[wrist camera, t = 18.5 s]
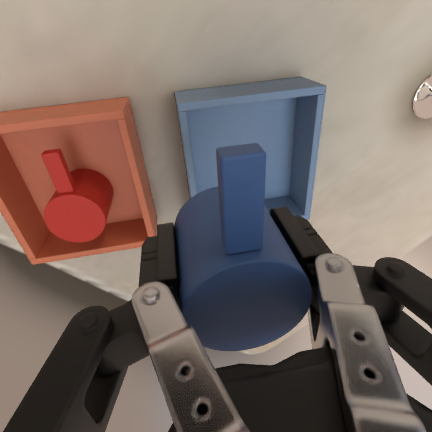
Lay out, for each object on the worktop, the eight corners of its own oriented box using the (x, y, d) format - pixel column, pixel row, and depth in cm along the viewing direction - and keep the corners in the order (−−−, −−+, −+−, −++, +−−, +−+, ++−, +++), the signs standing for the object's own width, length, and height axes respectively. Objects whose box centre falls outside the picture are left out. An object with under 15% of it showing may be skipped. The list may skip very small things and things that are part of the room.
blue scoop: (266, 255, 15) (305, 339, 11) (180, 269, 15) (188, 361, 11) (273, 103, 11) (340, 149, 7) (153, 116, 11) (149, 173, 6)
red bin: (-14, 113, 23) (-49, 130, 19) (128, 96, 24) (122, 110, 20) (48, 234, 30) (32, 264, 26) (157, 217, 31) (156, 244, 27)
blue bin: (174, 91, 24) (176, 103, 20) (301, 76, 25) (326, 85, 21) (192, 212, 31) (197, 237, 27) (292, 196, 32) (309, 219, 28)
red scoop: (119, 207, 29) (112, 238, 24) (71, 214, 28) (56, 247, 24) (94, 129, 24) (81, 150, 20) (37, 136, 24) (12, 160, 20)
